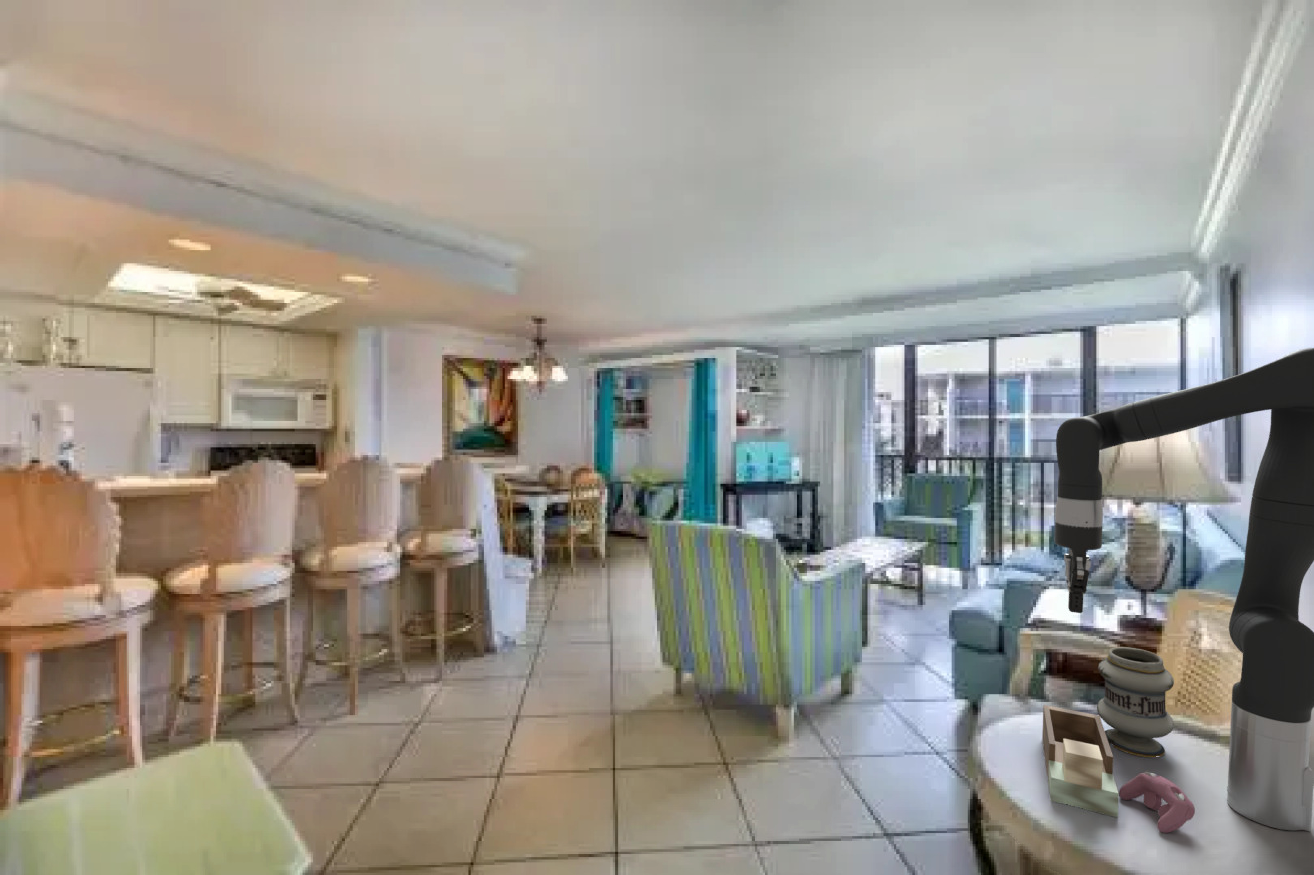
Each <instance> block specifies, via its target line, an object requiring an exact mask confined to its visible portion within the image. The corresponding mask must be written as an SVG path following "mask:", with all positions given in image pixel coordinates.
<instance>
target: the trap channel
mask: <svg viewBox="0 0 1314 875" xmlns="http://www.w3.org/2000/svg"><path fill="white" fill-rule="evenodd" d="M1042 710H1043V711H1042V713H1043V714H1042V738H1041V741H1042V747H1043V754H1044V761H1045V762H1044V763H1045V769H1046V776H1047V785H1048V791H1049V792H1048V793H1049V798H1050V799H1049V800H1050V802H1054V803H1058V804H1062V803H1063V804H1062V805H1066V804H1068V805H1067V806H1070V805H1071V807H1074V806H1075V808H1078V807H1080V808H1079V809H1082V808H1083V809H1082V810H1086V811H1090V812H1094V813H1098V812H1099V813H1098V814H1102V815H1106V816H1110V817H1114V818H1119V816H1118V814H1119V791H1118V787H1117V785H1116V781H1115V778H1114V774H1113V771H1114V755H1113V753H1112V749H1111V747H1110V743H1108V740H1107V737H1106V734H1105V731H1106V730H1105V727H1104V725H1103V722H1102V718H1101V717H1100V716H1099V714H1098V715H1097V714H1093V713H1087V712H1083V711H1078V710H1072V709H1066V708H1061V707H1057V706H1051V705H1046V704H1043V707H1042ZM1063 738H1064V739H1069V740H1074V741H1078V742H1083V743H1088V744H1093V745H1097V746H1099V749H1100V753H1101V756H1102V759H1103V768H1102V790H1099V789H1094V788H1090V787H1086V786H1082V785H1078V784H1073V783H1069V782H1065V778H1064V773H1063V767H1062V764H1063Z"/></svg>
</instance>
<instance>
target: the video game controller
mask: <svg viewBox="0 0 1314 875" xmlns="http://www.w3.org/2000/svg"><path fill="white" fill-rule="evenodd" d="M1118 793H1119V794H1118V797H1120V799H1122V800H1125V801H1129V800H1134V799H1137V798H1139V797H1141V796H1143V803H1144V806H1146V807H1147V808H1148V809H1151V810H1153V811H1158V815H1159V819H1158V821H1157V823H1156V825H1157V826H1156V827H1157V829H1158V830H1159V831H1160V832H1161V833H1163V834H1165V833H1166V834H1167V833H1172V832H1175V831H1177V830H1178V829H1180V828H1182V827H1183V825H1184V824H1186V822H1188V821H1190V820H1192V819H1193V818H1194V816H1195V814H1196V809H1195V806H1194V803H1193V802H1192V801H1191V799H1189V798H1188V796H1187V795H1186V793H1185V792H1184V791H1183V790H1182V789H1181V788H1180V787H1179V786H1178V785H1177V784H1176V783H1175V782H1173V781H1171V780H1169V779H1168V778H1165V777H1164V776H1161V775H1159V774H1157V773H1154V772H1153V773H1152V772H1149V771H1144V772H1141V773H1139V774H1136V776H1135V777H1133V778H1132V779H1131V780H1129V781H1127V782H1126V783H1124V784H1123V785H1122V786H1121V787H1120V788H1119V791H1118ZM1162 800H1163V801H1164V802H1165V803H1166V804H1163V801H1162Z"/></svg>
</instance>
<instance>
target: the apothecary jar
mask: <svg viewBox="0 0 1314 875" xmlns="http://www.w3.org/2000/svg"><path fill="white" fill-rule="evenodd" d="M1098 672H1099V674H1100V676H1101V677H1102V678H1103V679H1104V697H1102V698H1101V699H1100V700H1099V701H1098V702H1097V705H1096V711H1097V714H1098V715H1099V716H1100V719H1101V720H1103V722H1104V723H1106V725H1108V726H1110V728H1109V729H1106V730H1104V731H1105V734H1106V737H1107V740H1108V743H1109V745H1112V747H1114V748H1115V749H1117V750H1119V751H1121V752H1123V753H1127V754H1130V755H1133V756H1137V757H1141V758H1142V757H1143V758H1149V757H1155V758H1157V757H1156V756H1160V757H1162V755H1163V756H1164V755H1165V754H1166V749H1165V747H1164V746H1163V744H1161V743H1160V742H1159V741H1157V740H1156V739H1158V738H1163V737H1166V736H1168V735H1169V734H1170V733H1172V731H1173V730H1174V727H1175V724H1174V720H1173V718H1172V716H1171V715H1170V713H1169V712H1168V711H1167V710H1166V707H1167V706H1166V692H1168V691H1170V690H1171V689H1173V687H1174V684H1175V680H1174V677H1173V674H1171V672H1170V671H1168V670H1167V669H1166V668H1165V665H1164V660H1163V658H1162V657H1161V656H1160V655H1158V654H1156V653H1155V652H1152V651H1148V650H1144V649H1141V648H1134V647H1125V646H1117V647H1112V648H1110V649H1109V651H1108V654H1107V657H1105V658H1103V659H1102V660H1101V661H1100V662H1099V663H1098ZM1164 753H1165V754H1164Z"/></svg>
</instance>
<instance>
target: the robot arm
mask: <svg viewBox="0 0 1314 875" xmlns="http://www.w3.org/2000/svg"><path fill="white" fill-rule="evenodd" d="M1262 411H1270V427H1269V433H1268V434H1269V435H1268V441H1267V443H1266V447H1265V449H1264V452H1263V455H1262V458H1261V461H1260V463H1259V466H1258V470H1257V474H1256V477H1255V481H1254V485H1253V490H1252V494H1251V501H1250V507H1249V515H1248V528H1247V535H1246V543H1245V550H1244V562H1243V563H1244V565H1243V572H1242V577H1241V581H1240V585H1239V589H1238V593H1237V596H1236V599H1235V603H1234V605H1233V608H1232V611H1231V614H1230V615H1231V616H1230V618H1229V622H1228V632H1229V633H1228V634H1229V636H1230V639H1231V641H1232V643H1233V645H1234V646H1235V647H1236V649H1238V650H1239V651H1240V652H1241V654H1242V663H1241V675H1240V680H1239V681H1238V682H1236V683H1234V684H1233V686H1232V690H1231V691H1232V692H1231V706H1230V707H1231V709H1230V710H1231V711H1230V731H1229V732H1230V733H1229V734H1230V735H1229V751H1228V752H1229V753H1228V773H1227V787H1226V791H1227V794H1226V796H1227V799H1226V801H1227V803H1228V805H1229V806H1230V807H1231V809H1233V811H1236V813H1238V814H1240V815H1241V816H1243V817H1245V818H1247V819H1249V820H1251V821H1254V822H1255V823H1259V824H1261V825H1264V826H1267V827H1270V828H1275V829H1278V830H1286V831H1301V830H1303V831H1306V832H1312V820H1313V819H1312V818H1313V799H1314V770H1313V769H1311V767H1310V766H1309V763H1310V762H1309V759H1310V758H1309V756H1310V744H1311V743H1310V742H1311V740H1310V739H1311V721H1312V711H1313V709H1314V631H1313V630H1312V629H1311V628H1310V627H1309V626H1307V625H1306V624H1304V622H1301V621H1300V620H1299V619H1300V618H1299V617H1300V616H1299V611H1300V610H1299V608H1300V607H1299V606H1300V597H1301V596H1300V595H1301V589H1302V584H1303V580H1304V578H1305V577H1306V574H1307V572H1308V570H1310V567H1311V566H1312V564H1313V562H1314V347H1307V348H1301V349H1298V350H1294V351H1292V352H1289V353H1288V354H1286V355H1284V356H1283V357H1281V358H1278V359H1276V360H1274V361H1270V362H1268V363H1266V364H1264V365H1261V366H1258V367H1257V368H1253V369H1251V370H1249V371H1246V372H1243V373H1239V374H1237V375H1233V376H1231V377H1230V376H1229V377H1227V378H1225V379H1221V380H1220V379H1219V380H1217V381H1214V382H1211V383H1206V384H1202V385H1197V386H1194V387H1190V388H1189V387H1188V388H1186V389H1181V390H1177V391H1173V392H1169V393H1164V394H1159V395H1155V396H1152V397H1148V398H1144V399H1141V400H1138V401H1134V402H1130V403H1127V404H1124V405H1122V406H1119V407H1117V408H1115V409H1112V410H1111V409H1110V410H1106V411H1102V412H1099V413H1093V414H1089V415H1085V416H1075V417H1071V418H1068V419H1066V420H1065V421H1063V422H1062V423H1061V424H1060V426H1059V427H1058V430H1057V432H1056V437H1055V438H1056V439H1055V446H1056V447H1055V450H1056V459H1057V466H1058V480H1057V481H1058V482H1057V500H1056V505H1055V516H1054V517H1055V518H1054V519H1055V520H1054V526H1055V527H1054V543H1055V545H1057V546H1059V547H1062V548H1068V553H1064V554H1063V557H1064V558H1063V562H1064V563H1065V568H1064V569H1065V573H1064V574H1065V578H1066V584H1067V587H1066V588H1067V590H1068V605H1067V606H1068V608H1067V609H1068V611H1069V612H1071V613H1075V614H1082V613H1083V612H1084V595H1085V594H1086V592H1087V591H1088V590H1087V586H1088V582H1089V576H1090V568H1092V567H1091V565H1092V563H1091V562H1092V560H1091V558H1090V556H1089V555H1087V552H1088V551H1089V550H1090V551H1096V550H1100V549H1101V548H1102V547H1103V546H1102V545H1103V524H1104V509H1103V500H1102V499H1103V475H1102V473H1101V470H1100V451H1103V450H1106V449H1109V448H1112V447H1116V446H1117V447H1118V446H1120V445H1124V444H1127V443H1131V442H1132V443H1136V442H1141V441H1147V440H1151V439H1155V438H1159V437H1165V436H1169V435H1172V434H1177V433H1180V432H1184V431H1188V430H1191V429H1192V430H1193V429H1195V428H1198V427H1201V426H1204V425H1207V424H1211V423H1214V422H1217V421H1221V420H1222V421H1223V420H1225V419H1228V418H1233V417H1237V416H1241V415H1246V414H1250V413H1256V412H1262Z"/></svg>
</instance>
